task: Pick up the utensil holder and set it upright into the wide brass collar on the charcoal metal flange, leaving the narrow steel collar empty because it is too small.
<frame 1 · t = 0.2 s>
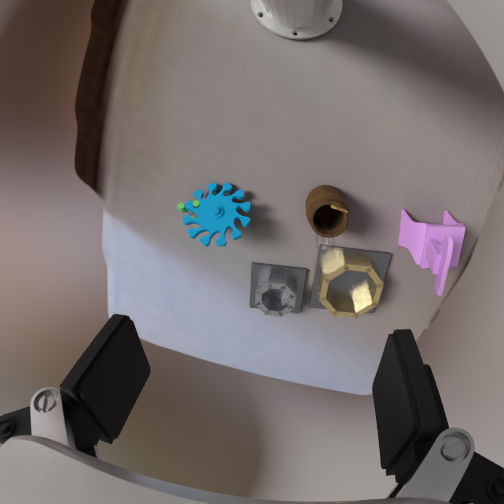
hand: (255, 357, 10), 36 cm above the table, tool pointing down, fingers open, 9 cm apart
gear: (220, 204, 47), on the table
wide socket: (349, 280, 49), on the table
narrow socket: (277, 287, 52), on the table
utensil holder: (325, 201, 44), on the table
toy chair: (423, 226, 43), on the table
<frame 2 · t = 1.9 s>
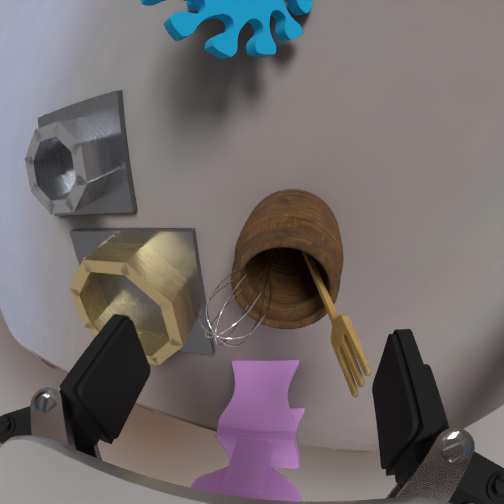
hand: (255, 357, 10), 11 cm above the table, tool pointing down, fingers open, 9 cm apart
wide socket: (141, 292, 25), on the table
narrow socket: (83, 158, 20), on the table
utensil holder: (295, 229, 20), on the table
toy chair: (271, 388, 28), on the table
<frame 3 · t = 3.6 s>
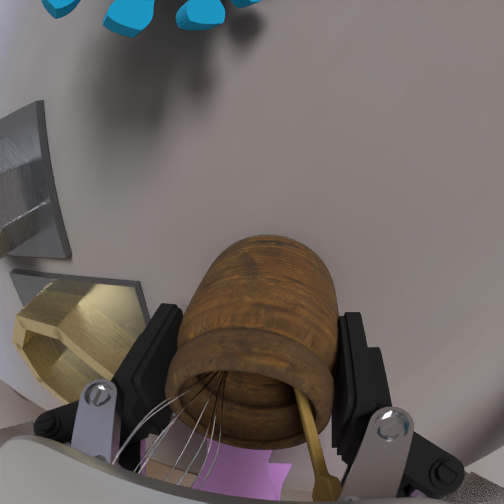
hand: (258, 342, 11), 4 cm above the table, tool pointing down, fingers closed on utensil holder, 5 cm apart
wide socket: (92, 345, 19), on the table
narrow socket: (11, 188, 14), on the table
utensil holder: (274, 286, 14), on the table, touching gripper
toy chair: (252, 445, 22), on the table
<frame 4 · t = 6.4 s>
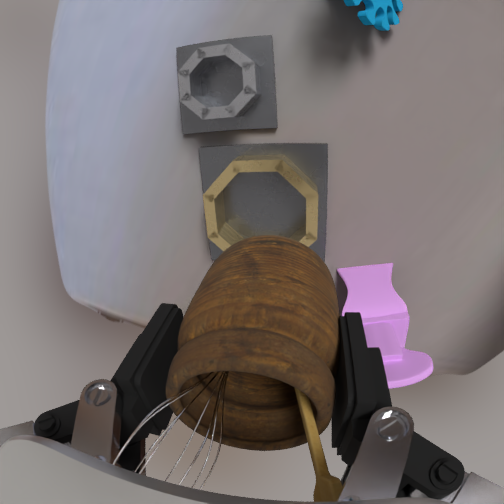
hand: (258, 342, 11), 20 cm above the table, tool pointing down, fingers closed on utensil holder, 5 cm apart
wide socket: (265, 204, 29), on the table
narrow socket: (226, 84, 25), on the table
utensil holder: (274, 286, 14), point 16 cm above the table, touching gripper
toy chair: (364, 298, 33), on the table
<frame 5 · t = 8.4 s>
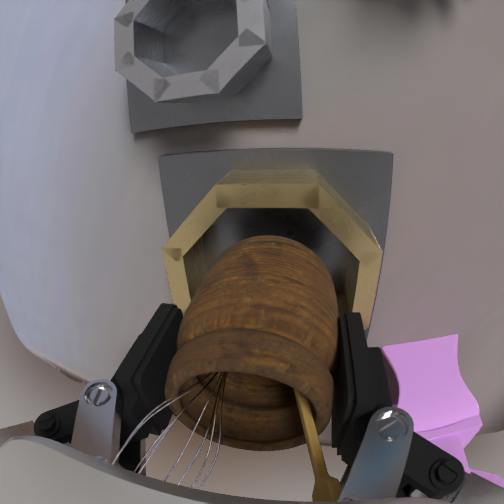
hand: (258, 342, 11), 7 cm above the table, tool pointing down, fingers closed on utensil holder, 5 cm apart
wide socket: (276, 255, 17), on the table
narrow socket: (207, 41, 12), on the table
utensil holder: (274, 287, 14), point 3 cm above the table, touching gripper
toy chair: (411, 376, 20), on the table
when the fingers open (5 cm above the table, at t = 9.5 s): utensil holder drops 1 cm, resting on wide socket.
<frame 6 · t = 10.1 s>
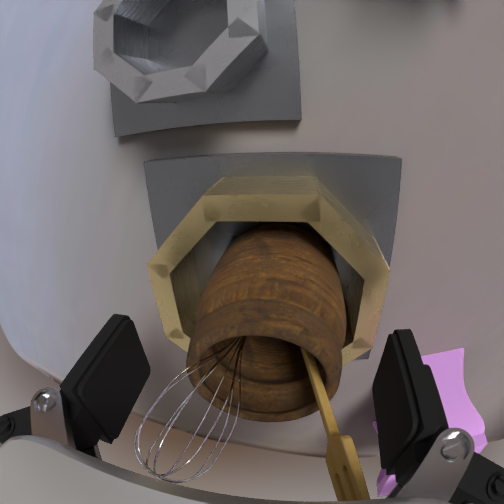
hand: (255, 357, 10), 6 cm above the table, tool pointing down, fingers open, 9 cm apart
wide socket: (272, 269, 16), on the table
narrow socket: (197, 35, 11), on the table
utensil holder: (281, 272, 15), resting on wide socket
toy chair: (414, 390, 19), on the table
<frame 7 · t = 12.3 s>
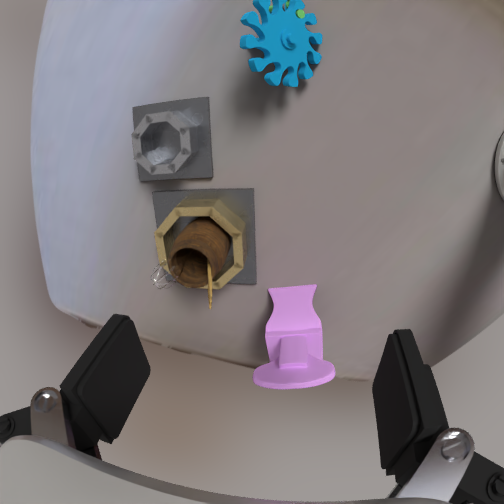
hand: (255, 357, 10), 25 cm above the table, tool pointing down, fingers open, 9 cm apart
gear: (286, 43, 26), on the table
wide socket: (205, 237, 36), on the table
narrow socket: (172, 139, 31), on the table
utensil holder: (209, 238, 36), resting on wide socket
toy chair: (295, 312, 40), on the table
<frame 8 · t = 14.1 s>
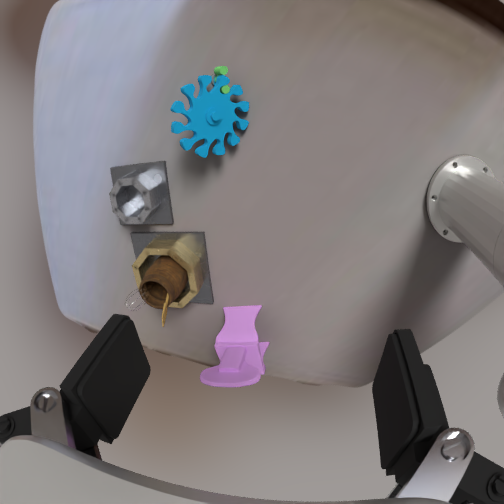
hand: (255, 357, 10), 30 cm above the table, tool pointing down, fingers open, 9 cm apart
gear: (221, 110, 35), on the table
wide socket: (172, 267, 46), on the table
narrow socket: (141, 193, 41), on the table
utensil holder: (174, 268, 46), resting on wide socket
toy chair: (247, 326, 49), on the table
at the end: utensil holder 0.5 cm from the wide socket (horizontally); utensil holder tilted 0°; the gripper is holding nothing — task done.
